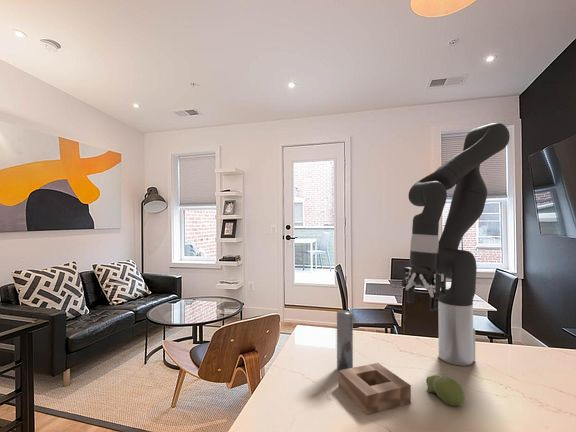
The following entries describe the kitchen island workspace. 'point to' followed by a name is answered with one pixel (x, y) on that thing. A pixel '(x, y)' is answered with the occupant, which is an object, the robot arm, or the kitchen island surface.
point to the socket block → (374, 387)
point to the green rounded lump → (446, 389)
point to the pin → (344, 340)
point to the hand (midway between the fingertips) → (421, 306)
